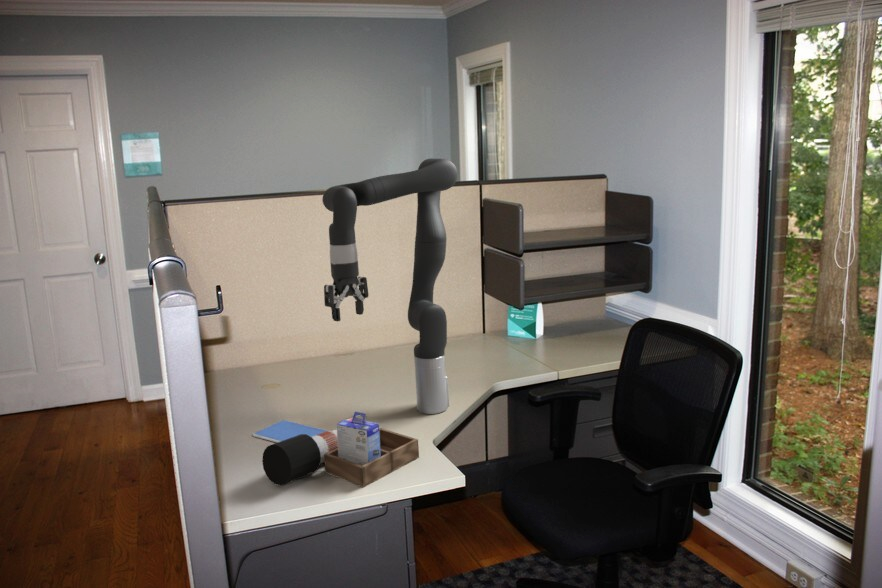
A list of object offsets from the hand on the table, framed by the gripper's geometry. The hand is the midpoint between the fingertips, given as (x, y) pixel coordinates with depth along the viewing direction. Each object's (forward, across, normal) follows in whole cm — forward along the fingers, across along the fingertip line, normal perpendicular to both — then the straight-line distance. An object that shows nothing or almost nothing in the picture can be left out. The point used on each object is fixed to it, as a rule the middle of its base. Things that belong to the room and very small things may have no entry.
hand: (348, 317), depth 202 cm
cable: (+34, +19, +9) cm, 40 cm away
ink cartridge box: (+33, +18, +21) cm, 43 cm away
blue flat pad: (+34, +13, -13) cm, 39 cm away
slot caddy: (+33, +14, +21) cm, 42 cm away
